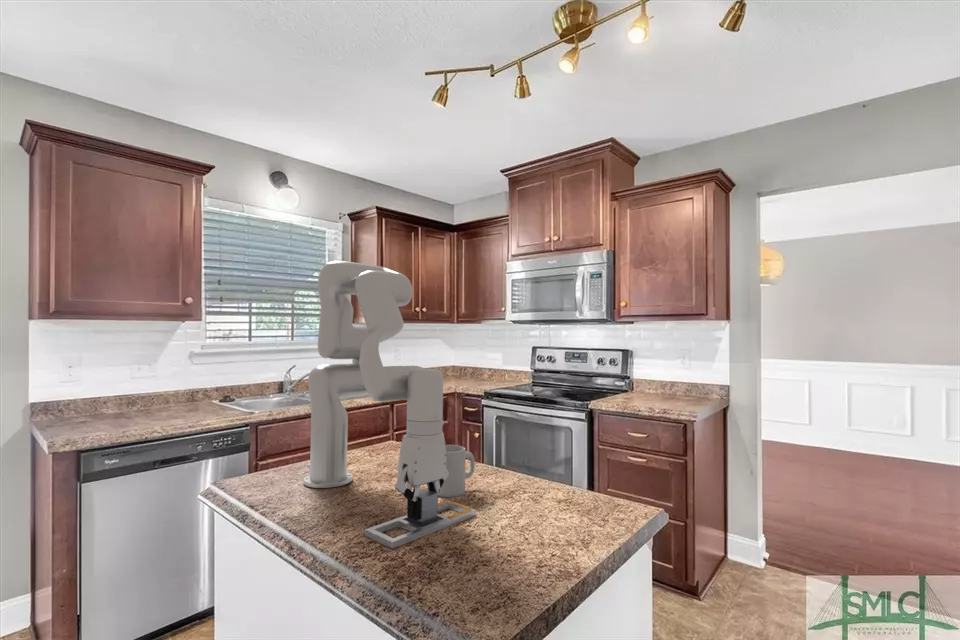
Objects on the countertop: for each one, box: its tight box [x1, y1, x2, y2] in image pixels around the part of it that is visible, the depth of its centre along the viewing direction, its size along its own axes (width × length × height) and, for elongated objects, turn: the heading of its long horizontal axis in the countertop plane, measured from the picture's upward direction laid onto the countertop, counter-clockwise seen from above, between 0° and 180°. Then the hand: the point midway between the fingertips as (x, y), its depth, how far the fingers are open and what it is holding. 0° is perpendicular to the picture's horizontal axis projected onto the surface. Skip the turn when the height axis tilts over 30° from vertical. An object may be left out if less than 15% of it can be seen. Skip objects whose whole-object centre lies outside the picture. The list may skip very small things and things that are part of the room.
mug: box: [438, 444, 476, 498], centre depth 122 cm, size 12×8×11 cm
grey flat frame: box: [364, 500, 476, 550], centre depth 99 cm, size 9×23×1 cm, turn 139°
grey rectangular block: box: [407, 488, 439, 527], centre depth 99 cm, size 4×4×6 cm
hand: (422, 514), depth 99 cm, fingers closed on grey rectangular block, 4 cm apart
